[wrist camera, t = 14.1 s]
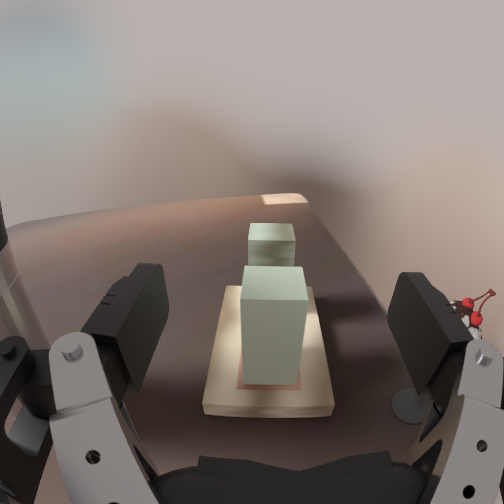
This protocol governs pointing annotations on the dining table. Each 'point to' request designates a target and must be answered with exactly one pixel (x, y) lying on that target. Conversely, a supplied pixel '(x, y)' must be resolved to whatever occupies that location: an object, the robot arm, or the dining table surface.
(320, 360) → the board
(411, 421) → the sundae
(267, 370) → the green block
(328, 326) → the dining table surface
